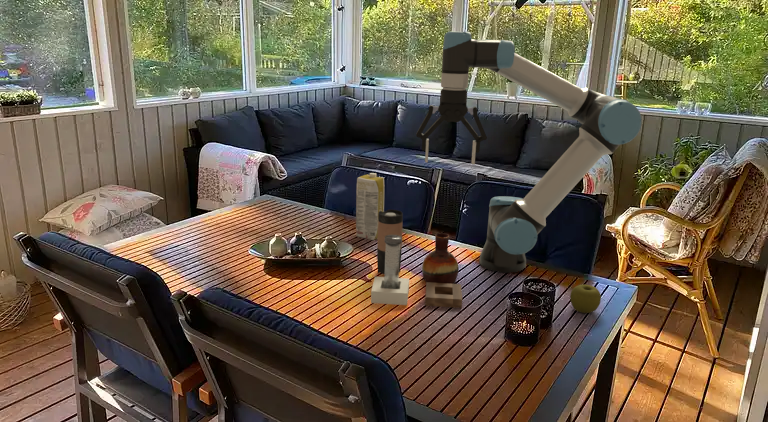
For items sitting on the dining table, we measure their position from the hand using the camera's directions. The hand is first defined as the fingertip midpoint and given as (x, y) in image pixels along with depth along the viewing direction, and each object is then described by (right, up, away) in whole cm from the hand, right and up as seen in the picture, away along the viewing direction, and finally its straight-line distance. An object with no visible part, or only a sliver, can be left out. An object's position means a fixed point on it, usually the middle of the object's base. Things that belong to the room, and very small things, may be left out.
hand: (449, 162), depth 165 cm
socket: (-18, -39, -5) cm, 43 cm away
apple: (+36, -42, -8) cm, 56 cm away
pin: (-17, -38, -5) cm, 42 cm away
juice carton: (-25, -24, +45) cm, 57 cm away
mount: (-3, -40, -5) cm, 40 cm away
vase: (-2, -36, +7) cm, 37 cm away
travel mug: (-18, -34, +13) cm, 41 cm away
